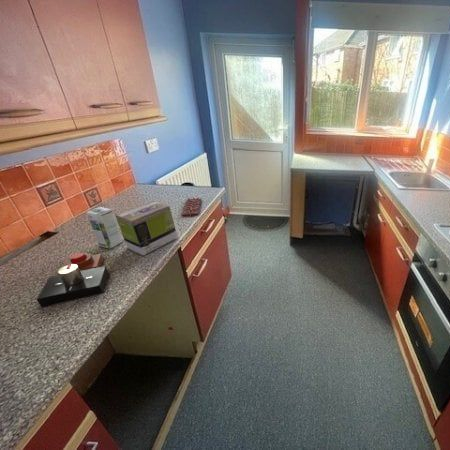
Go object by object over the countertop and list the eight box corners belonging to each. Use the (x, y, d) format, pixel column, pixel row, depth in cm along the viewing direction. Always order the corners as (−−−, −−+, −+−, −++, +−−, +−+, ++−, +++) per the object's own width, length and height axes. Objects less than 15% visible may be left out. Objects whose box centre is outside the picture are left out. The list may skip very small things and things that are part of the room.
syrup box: (98, 246, 95) (84, 212, 88) (112, 238, 100) (100, 206, 93) (109, 249, 94) (96, 214, 87) (123, 241, 99) (112, 208, 92)
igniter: (60, 279, 79) (54, 269, 77) (68, 265, 85) (63, 255, 83) (98, 271, 83) (94, 262, 81) (103, 258, 89) (99, 249, 87)
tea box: (162, 232, 106) (154, 200, 99) (178, 238, 102) (170, 205, 95) (126, 248, 95) (114, 213, 88) (142, 256, 91) (131, 220, 84)
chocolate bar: (182, 216, 120) (181, 212, 119) (187, 201, 136) (186, 198, 135) (198, 215, 121) (197, 211, 121) (201, 200, 138) (200, 197, 137)
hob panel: (41, 307, 69) (36, 298, 67) (54, 284, 77) (49, 276, 75) (102, 292, 74) (99, 284, 73) (108, 273, 82) (105, 265, 81)
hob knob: (81, 283, 73) (75, 270, 71) (62, 287, 71) (55, 274, 69) (85, 274, 77) (79, 262, 74) (67, 278, 75) (60, 265, 73)
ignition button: (70, 264, 80) (68, 259, 79) (73, 257, 83) (71, 253, 82) (84, 261, 81) (82, 257, 80) (87, 255, 84) (85, 251, 83)
